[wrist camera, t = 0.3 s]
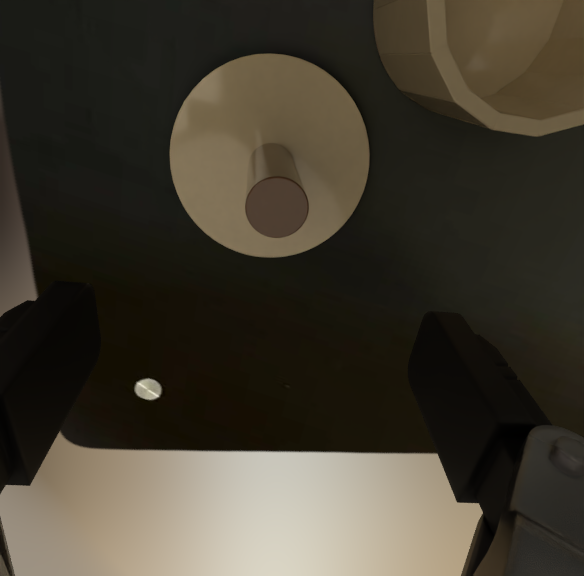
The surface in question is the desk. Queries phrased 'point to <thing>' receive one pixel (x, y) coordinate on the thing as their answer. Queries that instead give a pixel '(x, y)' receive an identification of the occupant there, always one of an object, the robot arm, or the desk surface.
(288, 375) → the desk surface
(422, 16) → the canister
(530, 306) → the desk surface
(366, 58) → the desk surface
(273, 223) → the lid
